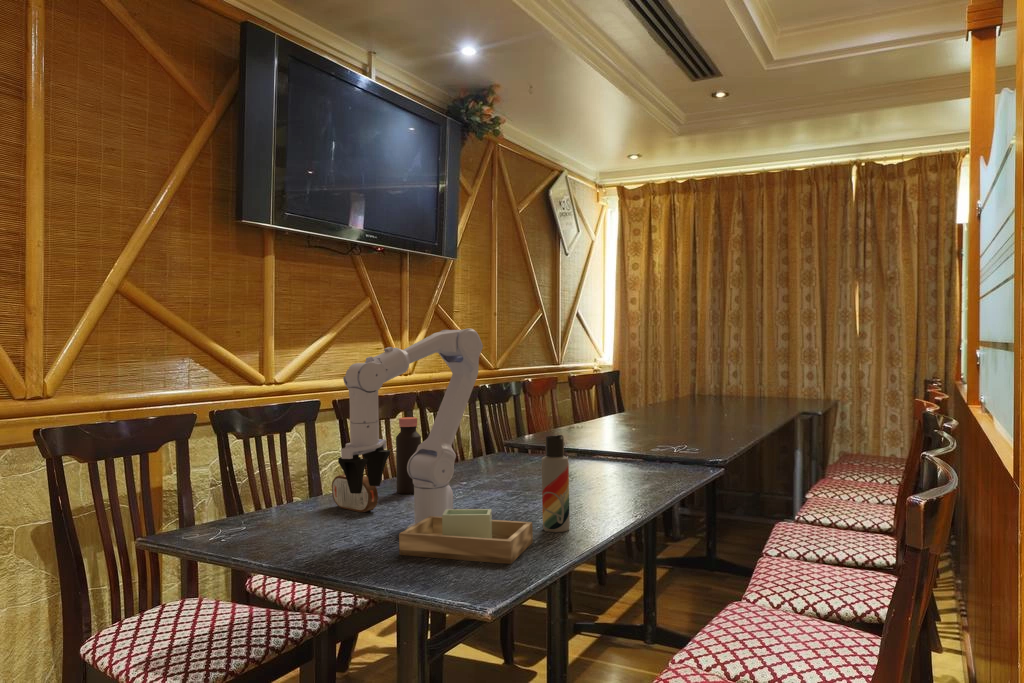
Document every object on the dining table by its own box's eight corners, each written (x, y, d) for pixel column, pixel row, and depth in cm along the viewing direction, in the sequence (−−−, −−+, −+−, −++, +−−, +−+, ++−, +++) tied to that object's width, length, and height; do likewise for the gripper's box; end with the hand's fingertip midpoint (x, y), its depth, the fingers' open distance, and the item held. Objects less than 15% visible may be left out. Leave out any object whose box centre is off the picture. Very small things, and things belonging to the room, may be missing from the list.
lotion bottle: (550, 533, 143) (548, 436, 143) (538, 527, 148) (536, 433, 149) (574, 530, 145) (572, 434, 146) (561, 524, 151) (560, 432, 151)
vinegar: (419, 488, 192) (418, 416, 193) (424, 493, 186) (422, 418, 186) (394, 490, 190) (393, 417, 190) (398, 495, 184) (397, 419, 184)
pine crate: (430, 535, 144) (430, 515, 144) (532, 542, 137) (532, 522, 137) (399, 554, 130) (399, 533, 130) (511, 563, 124) (510, 541, 124)
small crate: (446, 540, 136) (445, 509, 136) (492, 539, 136) (491, 509, 136) (442, 547, 132) (442, 515, 132) (490, 546, 131) (489, 514, 131)
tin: (379, 512, 165) (378, 477, 165) (368, 515, 162) (368, 479, 163) (340, 504, 174) (339, 471, 174) (329, 507, 172) (329, 473, 172)
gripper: (365, 418, 149) (366, 481, 149) (327, 425, 135) (328, 495, 135) (394, 418, 147) (395, 483, 146) (359, 426, 133) (360, 497, 133)
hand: (365, 489), depth 140 cm, fingers open, 7 cm apart
